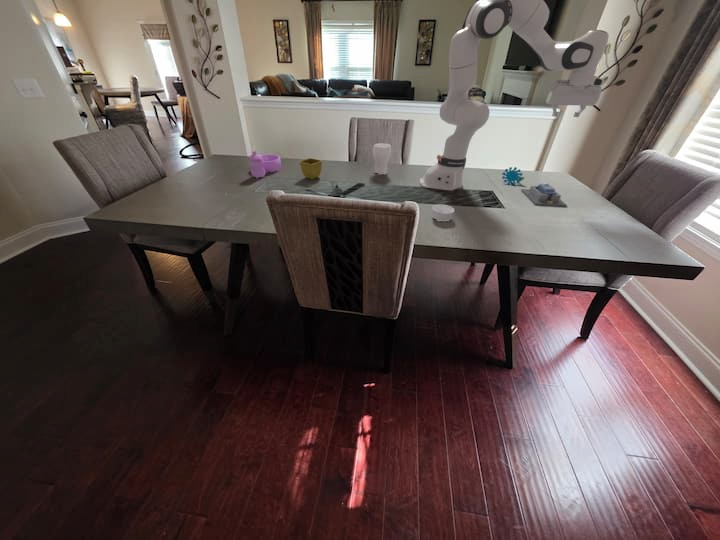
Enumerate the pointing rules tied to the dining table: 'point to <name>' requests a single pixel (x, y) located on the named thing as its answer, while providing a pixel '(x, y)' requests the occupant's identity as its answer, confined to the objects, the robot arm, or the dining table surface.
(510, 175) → the blue virus model
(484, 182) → the dining table surface
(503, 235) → the dining table surface
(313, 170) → the flower pot
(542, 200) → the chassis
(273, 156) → the container set
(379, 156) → the cup
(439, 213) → the ramekin
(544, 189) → the servo
